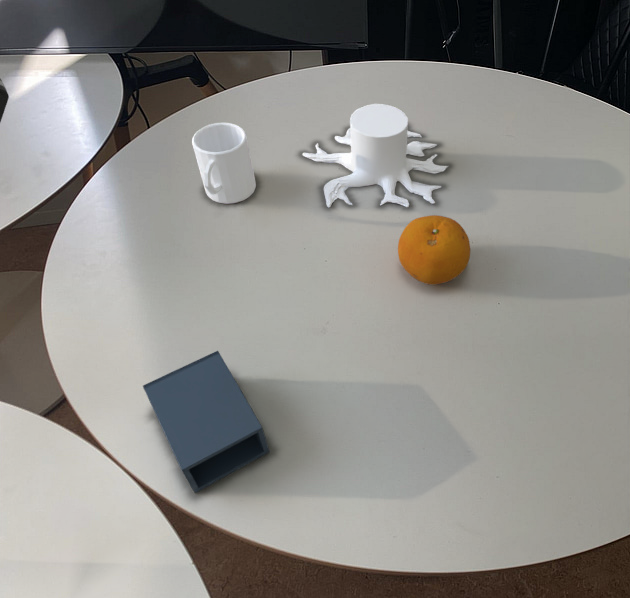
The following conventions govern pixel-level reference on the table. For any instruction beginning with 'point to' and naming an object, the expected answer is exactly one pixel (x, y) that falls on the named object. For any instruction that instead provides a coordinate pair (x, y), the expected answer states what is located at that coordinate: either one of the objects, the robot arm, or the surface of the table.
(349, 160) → the white tree stump
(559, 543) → the table surface
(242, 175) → the mug
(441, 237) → the fruit
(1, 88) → the robot arm
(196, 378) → the bin
